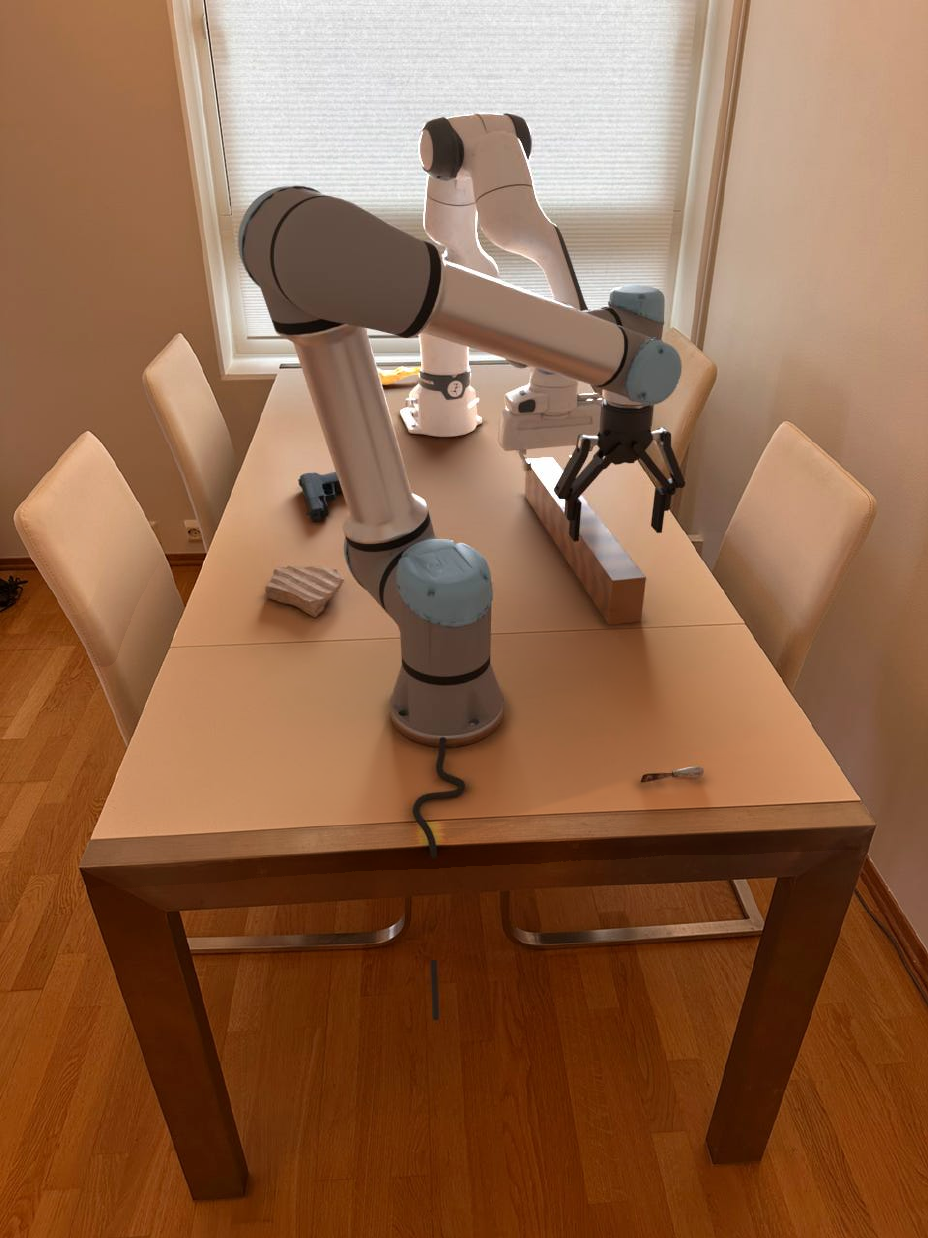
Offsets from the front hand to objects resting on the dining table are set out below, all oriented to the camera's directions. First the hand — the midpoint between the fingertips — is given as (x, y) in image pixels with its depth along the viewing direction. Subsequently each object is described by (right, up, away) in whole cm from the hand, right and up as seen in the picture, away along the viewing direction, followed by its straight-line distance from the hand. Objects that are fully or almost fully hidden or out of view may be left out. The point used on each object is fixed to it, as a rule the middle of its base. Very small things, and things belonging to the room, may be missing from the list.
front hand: (615, 533), depth 139 cm
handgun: (-50, +10, +40) cm, 65 cm away
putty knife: (+2, -33, -30) cm, 45 cm away
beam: (-4, -1, +21) cm, 22 cm away
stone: (-50, -10, +8) cm, 52 cm away
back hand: (-7, +16, +31) cm, 35 cm away
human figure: (-47, +51, +104) cm, 125 cm away
